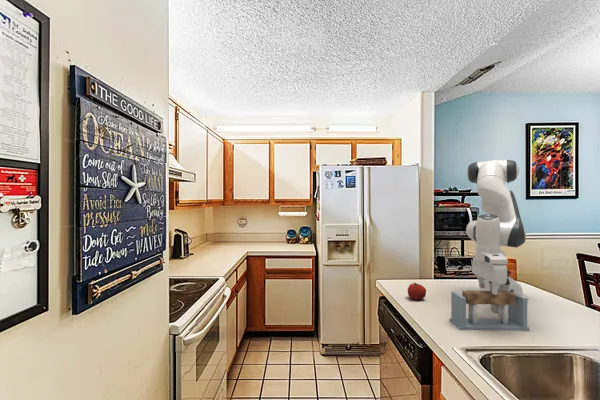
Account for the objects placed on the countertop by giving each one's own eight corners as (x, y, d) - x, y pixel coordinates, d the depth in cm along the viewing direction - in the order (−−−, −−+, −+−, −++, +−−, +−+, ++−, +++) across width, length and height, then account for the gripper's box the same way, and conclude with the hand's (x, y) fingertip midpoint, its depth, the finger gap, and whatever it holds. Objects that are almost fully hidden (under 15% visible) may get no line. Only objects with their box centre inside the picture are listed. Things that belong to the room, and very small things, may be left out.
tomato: (418, 296, 180) (418, 280, 180) (430, 300, 172) (430, 284, 172) (403, 297, 178) (403, 281, 178) (414, 302, 169) (414, 286, 169)
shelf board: (467, 304, 136) (467, 293, 136) (462, 300, 141) (462, 290, 141) (515, 304, 135) (515, 294, 135) (507, 300, 140) (507, 291, 140)
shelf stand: (513, 321, 143) (513, 292, 143) (529, 330, 133) (529, 298, 133) (449, 320, 144) (449, 291, 144) (459, 329, 134) (459, 298, 134)
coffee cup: (490, 313, 153) (490, 278, 153) (487, 307, 161) (487, 275, 161) (511, 315, 150) (512, 280, 150) (507, 309, 158) (507, 276, 158)
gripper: (467, 251, 149) (467, 284, 149) (493, 260, 128) (493, 297, 128) (483, 251, 149) (482, 284, 149) (510, 260, 128) (510, 298, 128)
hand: (487, 290), depth 138 cm, fingers open, 8 cm apart
